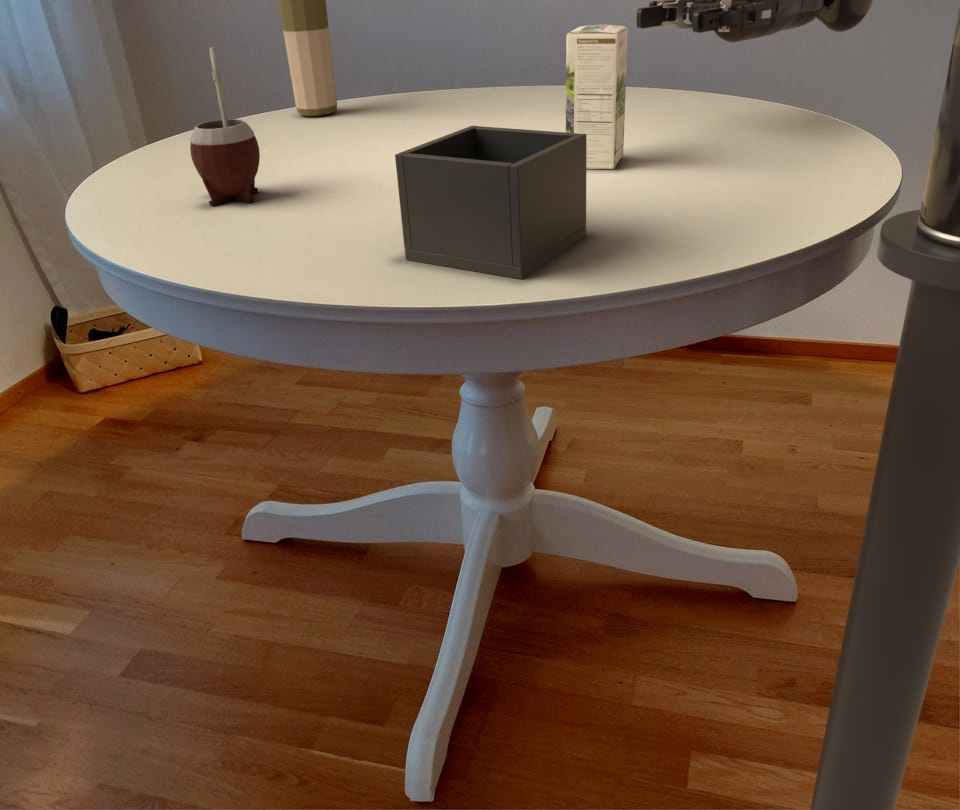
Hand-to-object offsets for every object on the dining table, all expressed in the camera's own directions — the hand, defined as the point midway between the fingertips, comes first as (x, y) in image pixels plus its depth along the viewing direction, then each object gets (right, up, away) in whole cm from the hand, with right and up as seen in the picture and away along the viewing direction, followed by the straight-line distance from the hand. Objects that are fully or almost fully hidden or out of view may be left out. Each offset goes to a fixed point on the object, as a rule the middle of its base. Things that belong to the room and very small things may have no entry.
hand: (666, 20), depth 101 cm
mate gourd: (-48, -21, -3) cm, 53 cm away
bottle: (-47, +2, +38) cm, 60 cm away
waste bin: (-20, -30, -23) cm, 43 cm away
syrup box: (-8, -16, +1) cm, 18 cm away
